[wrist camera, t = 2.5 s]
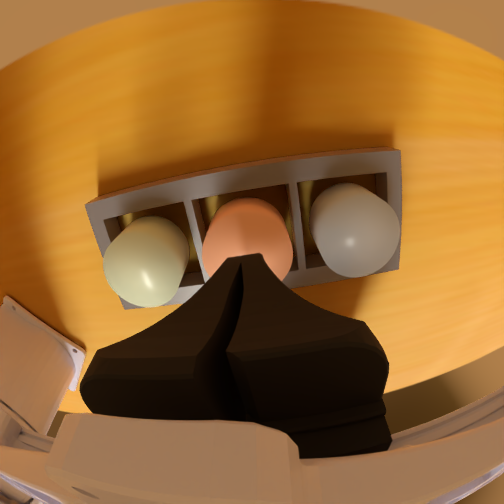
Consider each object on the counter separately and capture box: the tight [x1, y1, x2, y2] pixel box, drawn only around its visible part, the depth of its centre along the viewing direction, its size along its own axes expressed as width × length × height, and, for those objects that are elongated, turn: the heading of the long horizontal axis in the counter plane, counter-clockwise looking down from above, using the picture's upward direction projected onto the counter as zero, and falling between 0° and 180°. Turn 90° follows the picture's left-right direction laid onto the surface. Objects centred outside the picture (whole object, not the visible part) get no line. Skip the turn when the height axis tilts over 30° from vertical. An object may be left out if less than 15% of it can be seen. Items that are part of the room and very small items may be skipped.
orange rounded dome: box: [202, 197, 293, 281], centre depth 14 cm, size 4×4×3 cm
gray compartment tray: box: [85, 147, 402, 309], centre depth 16 cm, size 17×7×2 cm, turn 100°
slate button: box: [309, 183, 400, 277], centre depth 14 cm, size 4×4×3 cm
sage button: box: [103, 215, 190, 307], centre depth 14 cm, size 4×4×3 cm
